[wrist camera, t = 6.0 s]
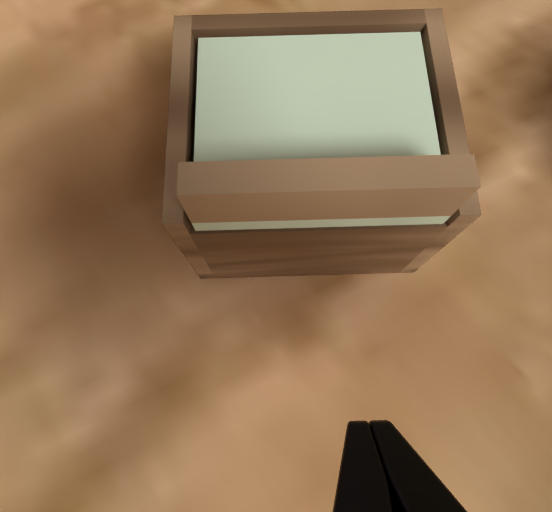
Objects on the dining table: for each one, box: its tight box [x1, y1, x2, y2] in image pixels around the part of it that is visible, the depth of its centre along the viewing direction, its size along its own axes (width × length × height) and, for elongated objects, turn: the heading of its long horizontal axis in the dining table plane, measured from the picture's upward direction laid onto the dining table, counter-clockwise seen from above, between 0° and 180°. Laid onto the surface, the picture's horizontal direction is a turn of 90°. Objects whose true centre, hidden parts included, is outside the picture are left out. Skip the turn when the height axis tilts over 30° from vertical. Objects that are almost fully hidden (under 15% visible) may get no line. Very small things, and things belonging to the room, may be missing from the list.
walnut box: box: [162, 9, 482, 278], centre depth 21 cm, size 10×12×8 cm
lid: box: [176, 32, 481, 231], centre depth 16 cm, size 9×10×3 cm
